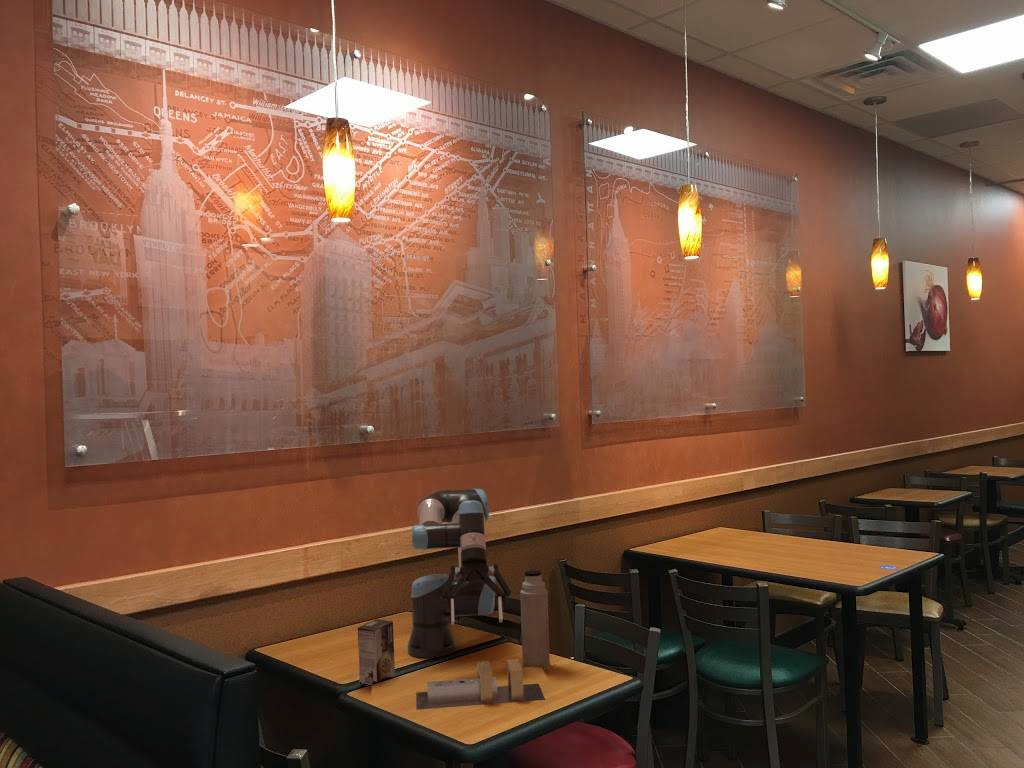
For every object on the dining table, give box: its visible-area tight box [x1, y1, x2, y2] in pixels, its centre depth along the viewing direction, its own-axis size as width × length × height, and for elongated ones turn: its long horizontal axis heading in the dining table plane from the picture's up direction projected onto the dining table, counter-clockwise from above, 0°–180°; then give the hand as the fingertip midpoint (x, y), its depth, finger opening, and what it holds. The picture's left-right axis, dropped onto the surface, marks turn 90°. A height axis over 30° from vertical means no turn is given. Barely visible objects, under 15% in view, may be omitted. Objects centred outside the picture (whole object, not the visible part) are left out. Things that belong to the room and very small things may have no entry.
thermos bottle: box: [519, 569, 551, 671], centre depth 245 cm, size 8×8×28 cm
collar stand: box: [415, 658, 546, 711], centre depth 219 cm, size 12×33×9 cm, turn 97°
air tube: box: [426, 676, 498, 703], centre depth 218 cm, size 4×18×4 cm, turn 97°
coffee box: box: [357, 618, 396, 686], centre depth 237 cm, size 9×6×16 cm
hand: (477, 621), depth 235 cm, fingers open, 13 cm apart
